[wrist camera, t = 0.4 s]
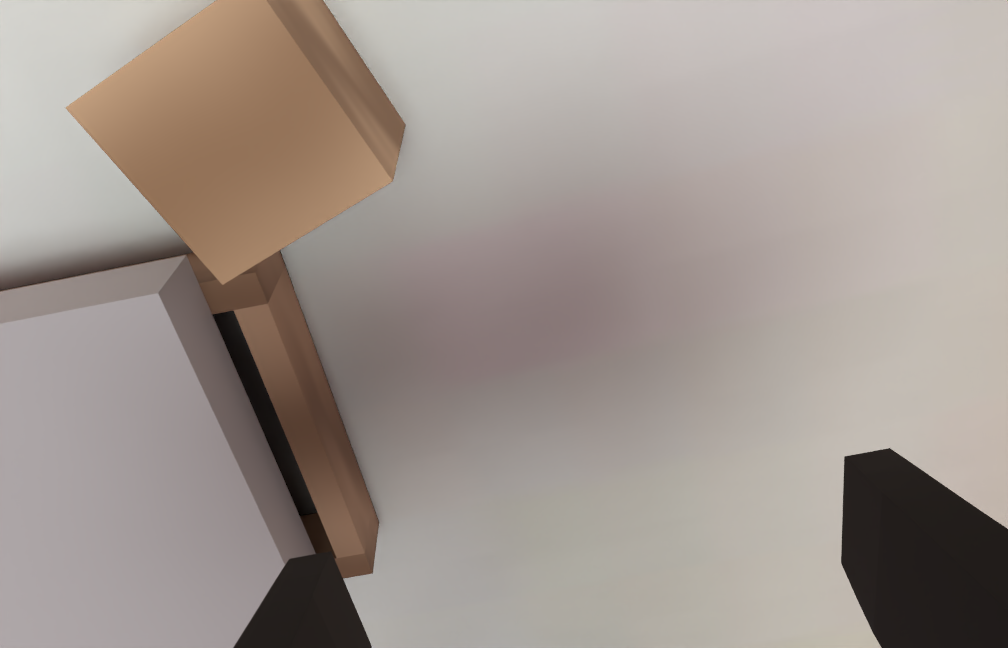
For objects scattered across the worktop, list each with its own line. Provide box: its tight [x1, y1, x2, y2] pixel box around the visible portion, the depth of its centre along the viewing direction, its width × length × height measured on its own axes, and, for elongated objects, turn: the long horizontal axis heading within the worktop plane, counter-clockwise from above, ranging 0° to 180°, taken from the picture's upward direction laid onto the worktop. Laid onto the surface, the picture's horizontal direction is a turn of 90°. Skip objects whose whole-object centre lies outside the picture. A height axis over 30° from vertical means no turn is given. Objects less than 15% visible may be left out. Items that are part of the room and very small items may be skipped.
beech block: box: [66, 0, 405, 285], centre depth 15 cm, size 4×4×4 cm
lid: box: [0, 255, 316, 648], centre depth 19 cm, size 11×8×2 cm
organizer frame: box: [0, 250, 379, 578], centre depth 20 cm, size 10×14×2 cm
